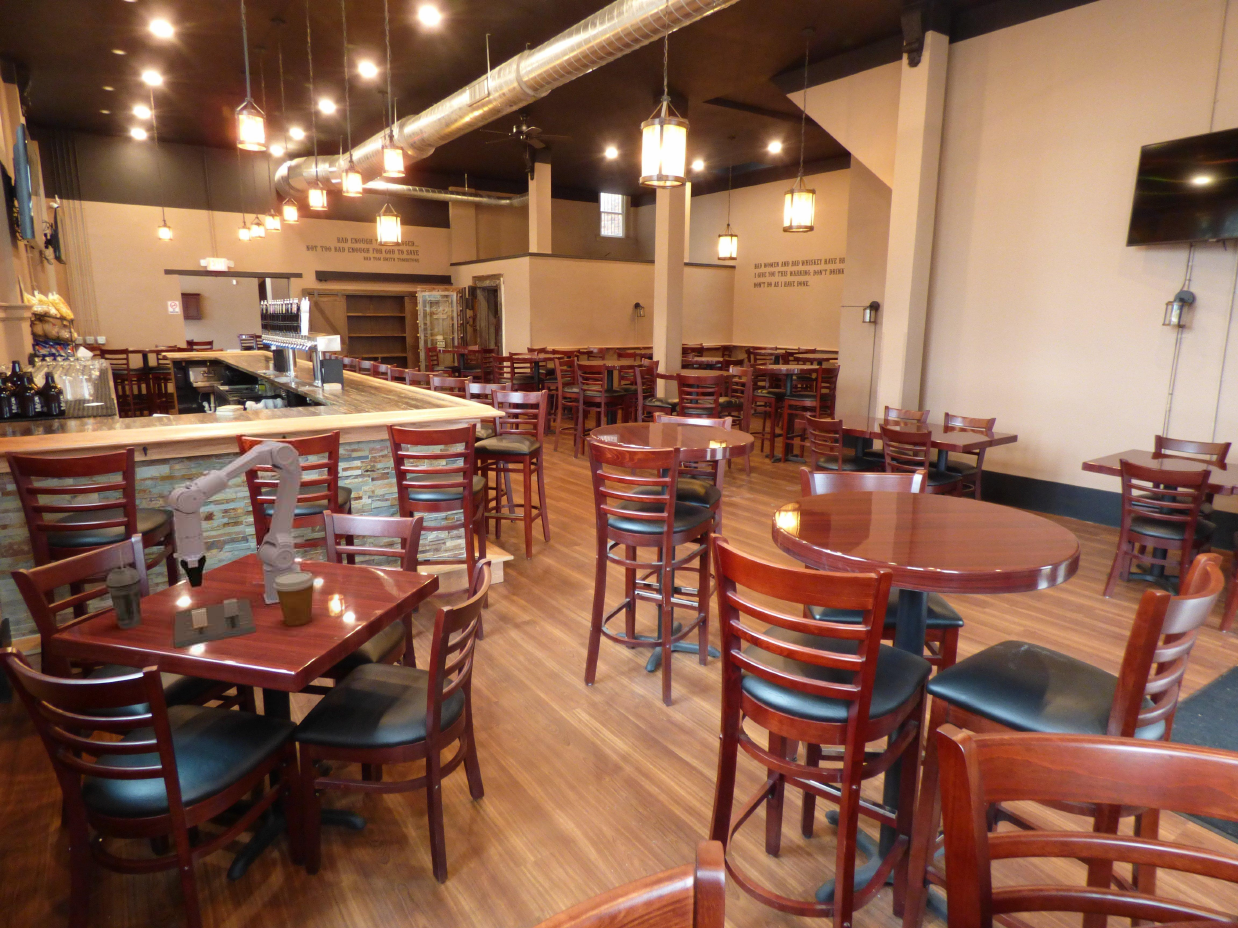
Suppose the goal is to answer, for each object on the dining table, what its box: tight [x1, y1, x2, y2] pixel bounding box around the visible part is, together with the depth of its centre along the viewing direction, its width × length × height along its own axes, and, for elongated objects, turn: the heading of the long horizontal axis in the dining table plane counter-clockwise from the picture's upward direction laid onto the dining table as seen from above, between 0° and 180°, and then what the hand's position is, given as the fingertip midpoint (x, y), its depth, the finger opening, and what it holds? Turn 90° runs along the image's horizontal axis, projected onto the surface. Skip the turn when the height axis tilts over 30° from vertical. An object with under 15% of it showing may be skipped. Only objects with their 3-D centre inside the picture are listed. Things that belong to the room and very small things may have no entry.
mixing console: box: [174, 598, 256, 649], centre depth 179 cm, size 17×21×2 cm
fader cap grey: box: [222, 598, 239, 618], centre depth 181 cm, size 3×2×4 cm, turn 121°
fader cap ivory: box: [192, 608, 208, 628], centre depth 174 cm, size 3×2×4 cm, turn 121°
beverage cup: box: [105, 548, 142, 630], centre depth 177 cm, size 7×7×20 cm
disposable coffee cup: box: [274, 570, 316, 627], centre depth 180 cm, size 10×10×12 cm
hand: (196, 585), depth 179 cm, fingers closed
